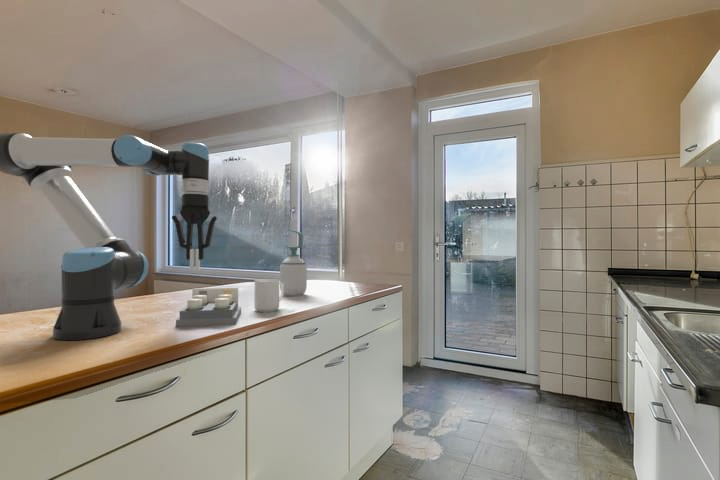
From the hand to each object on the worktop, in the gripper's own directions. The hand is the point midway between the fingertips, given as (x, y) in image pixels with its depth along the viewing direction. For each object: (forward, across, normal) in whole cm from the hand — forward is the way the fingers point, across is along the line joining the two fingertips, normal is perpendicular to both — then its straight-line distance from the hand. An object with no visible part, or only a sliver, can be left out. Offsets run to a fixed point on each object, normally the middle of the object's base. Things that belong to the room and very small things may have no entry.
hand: (194, 270), depth 116 cm
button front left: (+12, 0, 0) cm, 12 cm away
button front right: (+12, +8, 0) cm, 15 cm away
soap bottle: (+17, +32, +55) cm, 66 cm away
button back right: (+12, +8, +8) cm, 17 cm away
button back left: (+12, 0, +8) cm, 15 cm away
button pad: (+16, +4, +6) cm, 18 cm away
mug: (+17, +22, +19) cm, 34 cm away
